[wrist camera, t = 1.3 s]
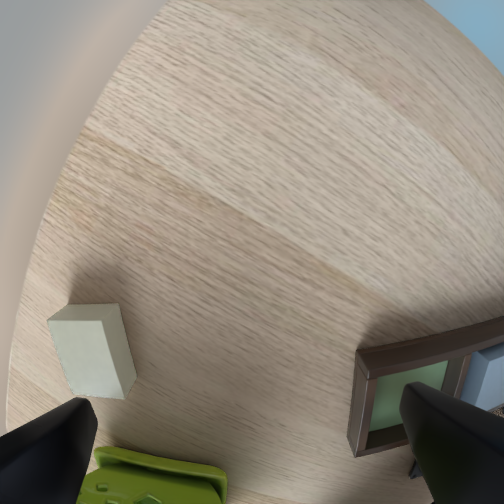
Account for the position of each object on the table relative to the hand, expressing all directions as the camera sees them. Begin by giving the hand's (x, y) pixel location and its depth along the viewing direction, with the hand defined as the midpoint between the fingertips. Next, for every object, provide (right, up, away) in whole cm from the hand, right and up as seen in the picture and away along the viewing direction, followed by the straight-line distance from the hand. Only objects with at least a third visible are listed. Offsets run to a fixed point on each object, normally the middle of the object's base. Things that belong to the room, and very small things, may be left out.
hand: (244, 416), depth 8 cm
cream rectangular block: (-11, -2, +13) cm, 17 cm away
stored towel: (+21, -6, +14) cm, 26 cm away
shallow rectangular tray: (+17, -6, +14) cm, 23 cm away
